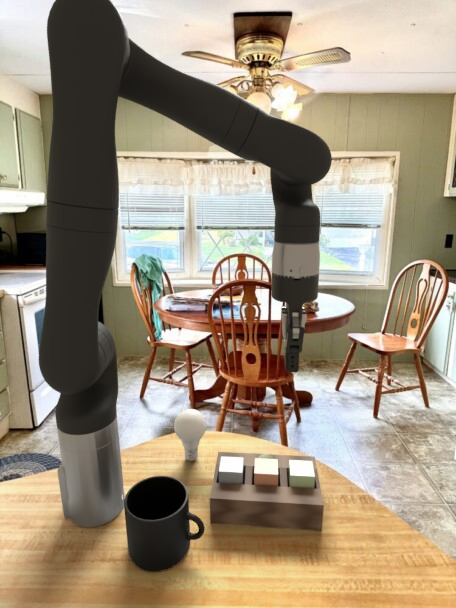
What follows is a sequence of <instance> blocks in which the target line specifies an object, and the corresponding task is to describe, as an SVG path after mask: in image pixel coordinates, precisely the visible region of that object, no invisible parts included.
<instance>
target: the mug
mask: <svg viewBox="0 0 456 608" xmlns="http://www.w3.org/2000/svg"><path fill="white" fill-rule="evenodd" d="M124 498H125V499H124V507H123V508H124V518H125V529H126V532H125V533H126V540H127V542H126V543H127V553H128V557H129V558H130V560H131V562H132V563H133V564H134V566H136V567H138V568H139V569H141V570H143V571H146V572H150V573H151V572H153V573H156V572H163V571H166V570H169V569H171V568H173V567H176V566H177V565H178V564H180V563H181V561H183V559H184V558H185V557H186V554H187V553H188V551H189V548H190V546H191V541H196V540H199V539H200V538H202V537H203V535H204V534H205V529H206V527H205V524H204V522H203V520H202V519H201V518H200V517H199V516H197V515H196V514H193V513H191V512H190V501H189V499H190V498H189V491H188V488H187V486H186V485H185V484H184V482H182V481H181V480H180V479H178V478H176V477H173V476H168V475H155V476H150V477H146V478H144V479H142V480H140V481H138V482H137V483H135V484H133V486H131V487H130V488H129V489H128V491H127V492H126V494H125V495H124ZM191 521H192V522H194V523H195V524H196V525H197V528H198V531H197V532H195V533H193V532H191V526H190V522H191Z"/></svg>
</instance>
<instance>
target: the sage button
mask: <svg viewBox="0 0 456 608" xmlns="http://www.w3.org/2000/svg"><path fill="white" fill-rule="evenodd" d="M314 483H315V474H314V469H313V463H312V461H302V460H289V475H288V485H289V487H297V488H314Z"/></svg>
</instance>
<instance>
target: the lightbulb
mask: <svg viewBox="0 0 456 608" xmlns="http://www.w3.org/2000/svg"><path fill="white" fill-rule="evenodd" d="M173 429H174V432H175V435H176V436H177V437H178V439H179V440H180V441H181V443H182V446H183V450H184V459H185V460H186V461H188V462H190V461H191V462H192V461H196V460H197V459H198V457H199V452H198V451H199V445H200V442H201V439H202V437H203V436H205V433H206V429H207V420H206V417H205V416H204V414H203V413H202V412H200V411H199V410H197V409H194V408H187V409H184V410H181V411H180V412H179V414H177V416H176V417H175V420H174V423H173Z"/></svg>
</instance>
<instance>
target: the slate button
mask: <svg viewBox="0 0 456 608" xmlns="http://www.w3.org/2000/svg"><path fill="white" fill-rule="evenodd" d="M243 479H244V458H243V457H224V456H221V461H220V467H219V483H227V484H243Z"/></svg>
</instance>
